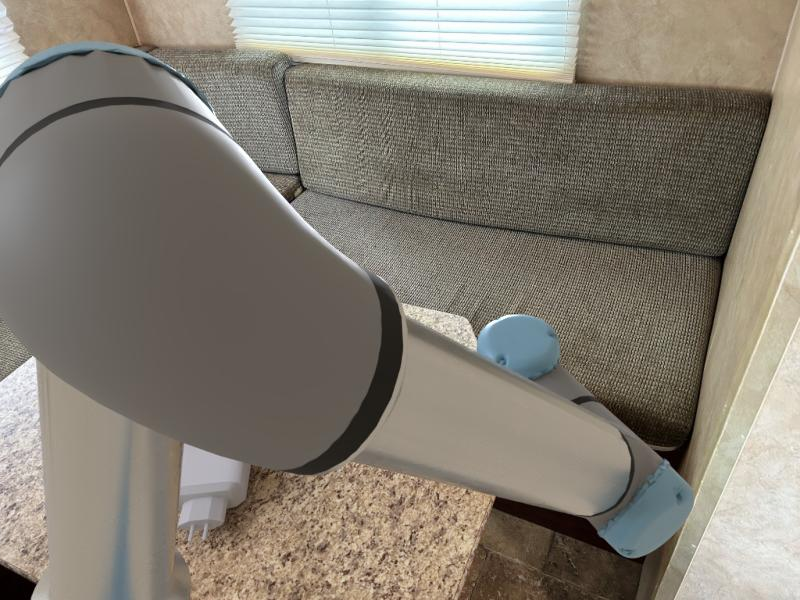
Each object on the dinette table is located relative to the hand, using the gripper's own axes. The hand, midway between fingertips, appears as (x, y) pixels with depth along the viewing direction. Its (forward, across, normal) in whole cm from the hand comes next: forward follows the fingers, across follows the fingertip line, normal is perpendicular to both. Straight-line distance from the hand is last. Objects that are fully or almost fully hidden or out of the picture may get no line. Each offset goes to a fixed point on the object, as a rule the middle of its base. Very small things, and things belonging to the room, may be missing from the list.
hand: (263, 361), depth 77 cm
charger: (+3, -13, -14) cm, 19 cm away
